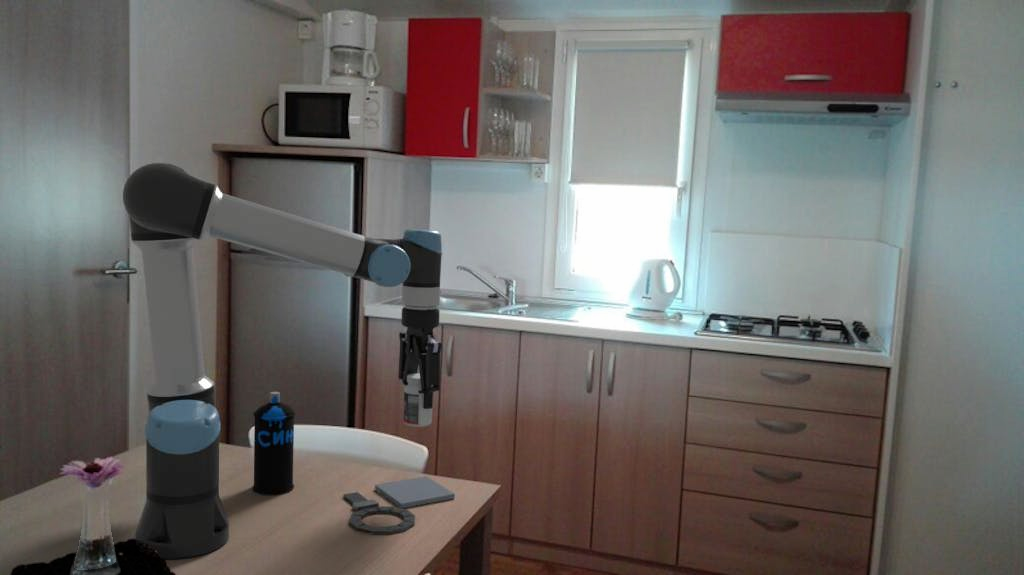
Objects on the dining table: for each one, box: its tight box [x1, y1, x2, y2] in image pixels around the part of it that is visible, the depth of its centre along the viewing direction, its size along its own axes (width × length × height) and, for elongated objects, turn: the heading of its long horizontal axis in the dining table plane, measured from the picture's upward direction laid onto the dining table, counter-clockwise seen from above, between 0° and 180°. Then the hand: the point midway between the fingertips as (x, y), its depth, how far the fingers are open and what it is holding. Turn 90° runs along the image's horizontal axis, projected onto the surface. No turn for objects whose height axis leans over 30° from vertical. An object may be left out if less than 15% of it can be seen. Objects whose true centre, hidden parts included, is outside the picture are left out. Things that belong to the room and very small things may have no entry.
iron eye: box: [342, 491, 416, 535], centre depth 163 cm, size 12×21×1 cm, turn 34°
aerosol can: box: [252, 391, 296, 496], centre depth 173 cm, size 8×8×20 cm
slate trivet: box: [374, 475, 456, 509], centre depth 175 cm, size 12×12×1 cm
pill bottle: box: [402, 372, 431, 428], centre depth 173 cm, size 6×6×10 cm
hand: (417, 419), depth 173 cm, fingers closed on pill bottle, 6 cm apart
